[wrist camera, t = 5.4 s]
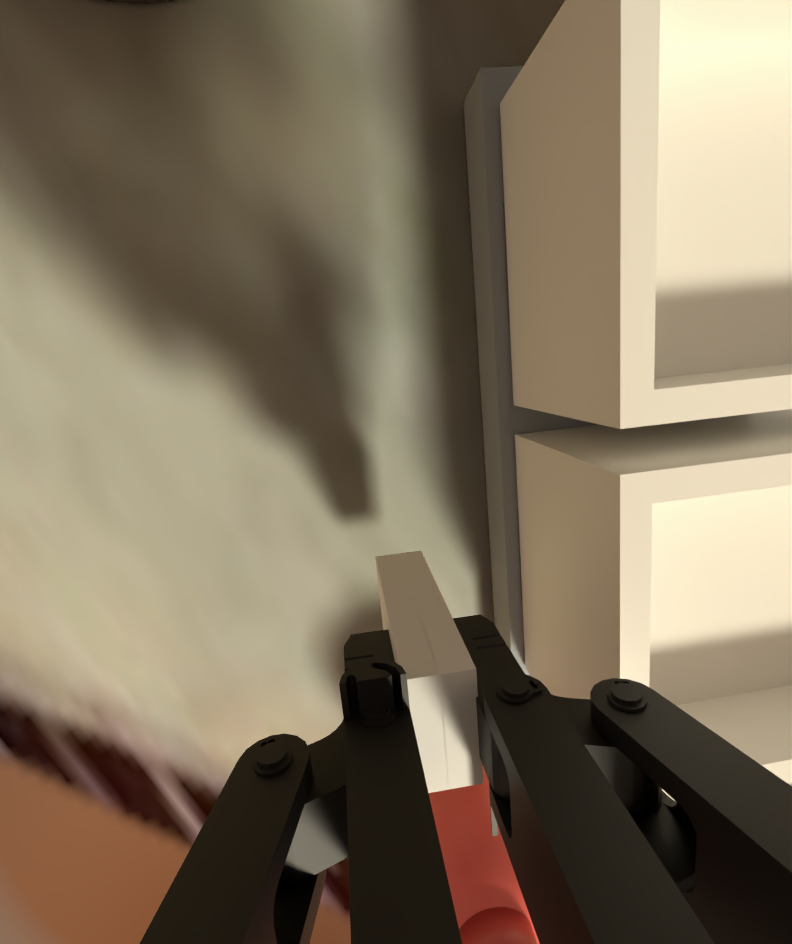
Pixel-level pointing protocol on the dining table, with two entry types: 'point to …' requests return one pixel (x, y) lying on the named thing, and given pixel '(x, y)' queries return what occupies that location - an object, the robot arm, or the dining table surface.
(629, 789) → the robot arm
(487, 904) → the red cylinder with knob
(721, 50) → the cream square open box
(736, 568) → the cream square open box
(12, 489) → the dining table surface
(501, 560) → the panel
